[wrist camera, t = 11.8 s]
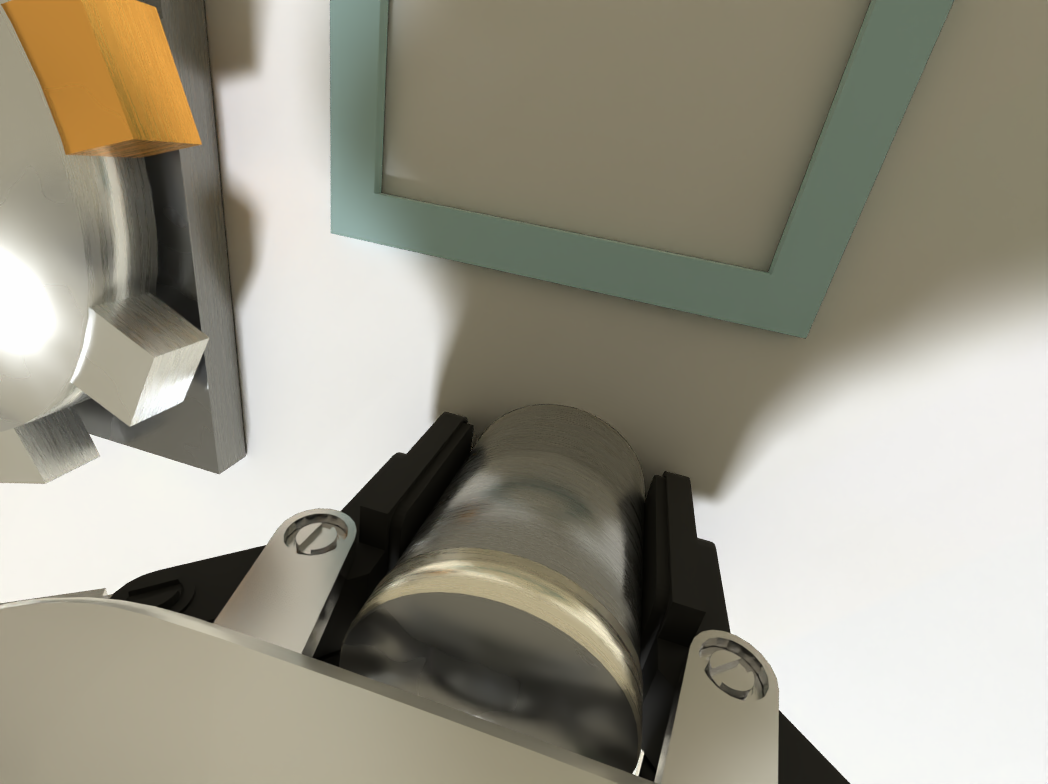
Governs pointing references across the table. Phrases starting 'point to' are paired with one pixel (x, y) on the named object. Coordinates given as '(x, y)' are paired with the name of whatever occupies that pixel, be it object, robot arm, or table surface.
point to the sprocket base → (190, 273)
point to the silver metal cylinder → (524, 589)
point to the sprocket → (84, 228)
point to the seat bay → (624, 269)
